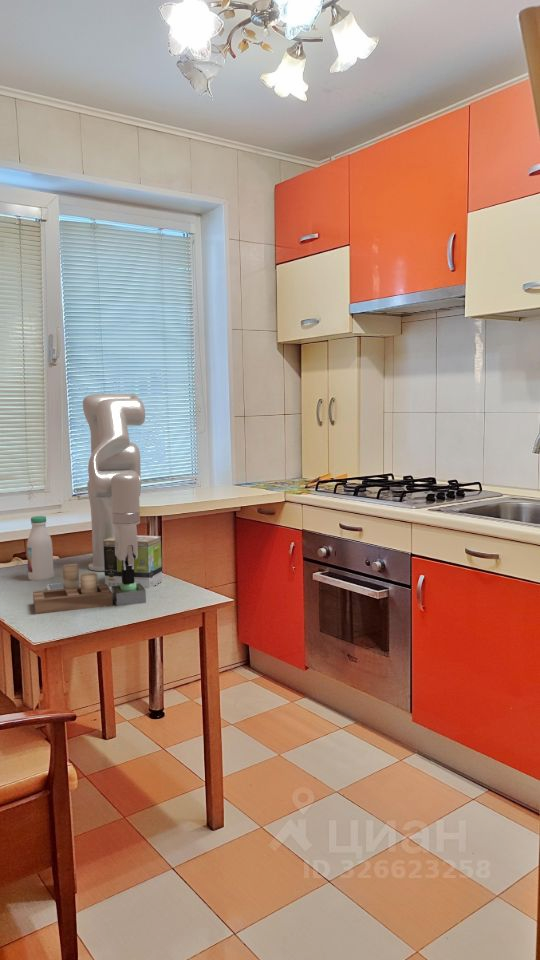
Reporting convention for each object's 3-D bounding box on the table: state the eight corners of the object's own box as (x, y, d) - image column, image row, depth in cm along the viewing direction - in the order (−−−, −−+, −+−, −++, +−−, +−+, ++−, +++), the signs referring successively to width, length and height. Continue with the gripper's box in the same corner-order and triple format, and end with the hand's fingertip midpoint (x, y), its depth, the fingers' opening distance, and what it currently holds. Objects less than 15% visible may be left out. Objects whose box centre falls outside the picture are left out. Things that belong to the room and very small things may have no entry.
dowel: (63, 591, 206) (61, 564, 206) (78, 589, 208) (77, 563, 207) (64, 595, 202) (63, 568, 201) (80, 593, 204) (79, 566, 203)
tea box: (163, 581, 219) (161, 535, 217) (149, 590, 209) (147, 541, 207) (119, 579, 223) (118, 533, 221) (103, 587, 213) (102, 539, 211)
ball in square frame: (112, 600, 199) (111, 586, 198) (140, 596, 202) (139, 583, 201) (116, 607, 191) (116, 593, 191) (146, 604, 194) (145, 590, 194)
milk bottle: (57, 575, 227) (55, 514, 225) (47, 581, 220) (45, 518, 218) (34, 575, 228) (32, 514, 226) (24, 581, 221) (21, 518, 218)
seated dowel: (80, 601, 196) (79, 573, 195) (96, 599, 197) (95, 572, 196) (82, 605, 192) (81, 577, 191) (98, 603, 193) (97, 575, 192)
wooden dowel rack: (33, 605, 194) (33, 591, 193) (107, 597, 201) (106, 584, 201) (35, 615, 185) (35, 601, 184) (112, 607, 192) (112, 592, 191)
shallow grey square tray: (46, 591, 209) (46, 584, 209) (91, 586, 214) (91, 580, 213) (50, 602, 197) (49, 595, 197) (97, 597, 202) (97, 590, 201)
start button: (119, 593, 198) (119, 582, 197) (135, 591, 199) (134, 581, 199) (122, 597, 193) (121, 586, 193) (138, 595, 195) (137, 584, 195)
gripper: (108, 515, 199) (110, 578, 202) (117, 523, 186) (119, 591, 188) (134, 513, 202) (136, 575, 204) (145, 521, 188) (147, 588, 191)
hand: (128, 582), depth 196 cm, fingers closed
